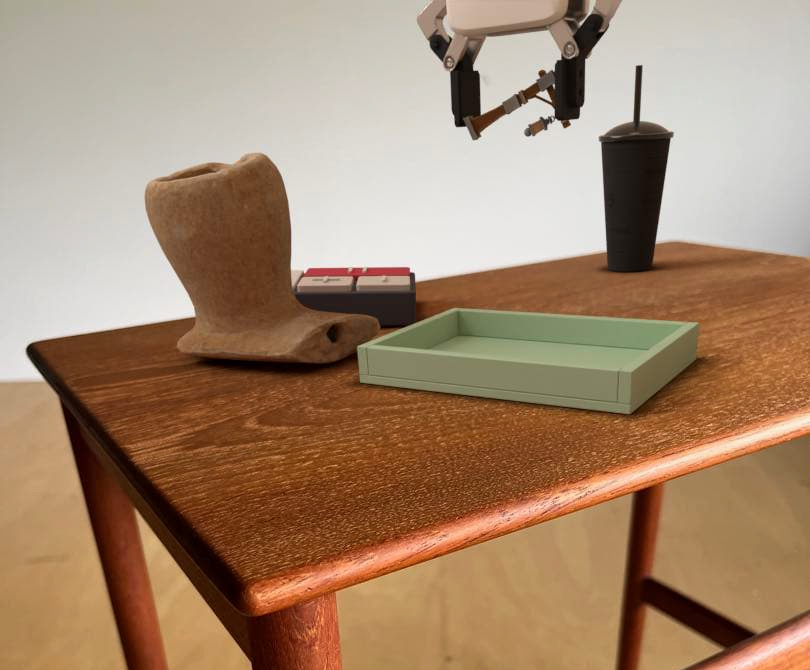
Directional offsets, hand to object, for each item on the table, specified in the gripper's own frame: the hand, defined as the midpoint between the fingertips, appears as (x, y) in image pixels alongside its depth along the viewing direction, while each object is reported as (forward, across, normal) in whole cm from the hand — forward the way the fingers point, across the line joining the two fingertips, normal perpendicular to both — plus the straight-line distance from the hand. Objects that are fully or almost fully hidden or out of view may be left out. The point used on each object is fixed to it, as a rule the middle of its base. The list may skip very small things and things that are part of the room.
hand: (516, 122), depth 69 cm
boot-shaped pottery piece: (+16, +13, +18) cm, 27 cm away
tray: (+16, -8, +13) cm, 22 cm away
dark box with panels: (+16, +18, +3) cm, 24 cm away
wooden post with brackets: (+1, 0, 0) cm, 1 cm away
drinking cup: (+16, +1, -30) cm, 34 cm away
